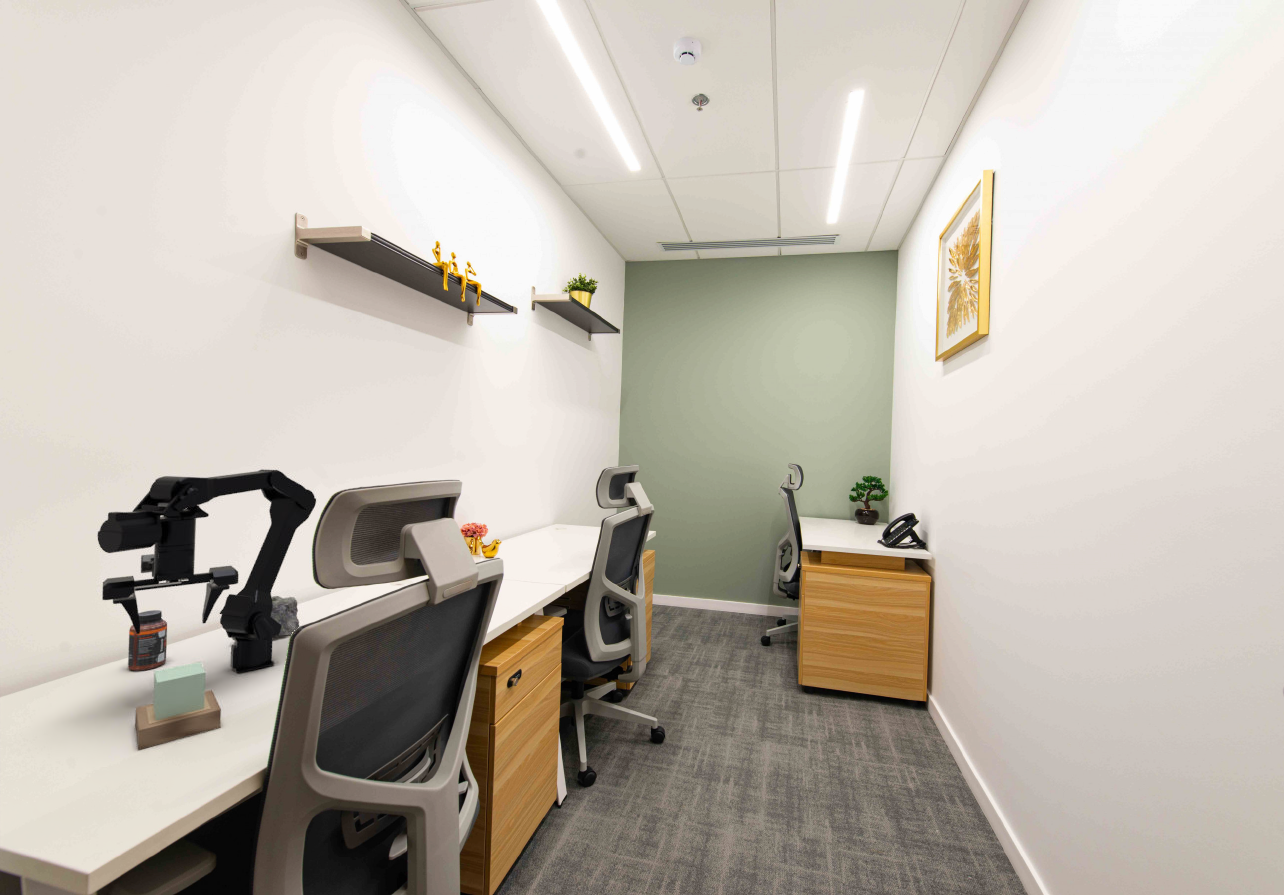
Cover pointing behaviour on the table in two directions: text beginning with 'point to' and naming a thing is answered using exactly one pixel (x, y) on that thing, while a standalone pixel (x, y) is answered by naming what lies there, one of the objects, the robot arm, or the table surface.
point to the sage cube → (178, 690)
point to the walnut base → (175, 723)
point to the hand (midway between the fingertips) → (172, 627)
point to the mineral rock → (285, 614)
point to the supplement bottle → (148, 642)
